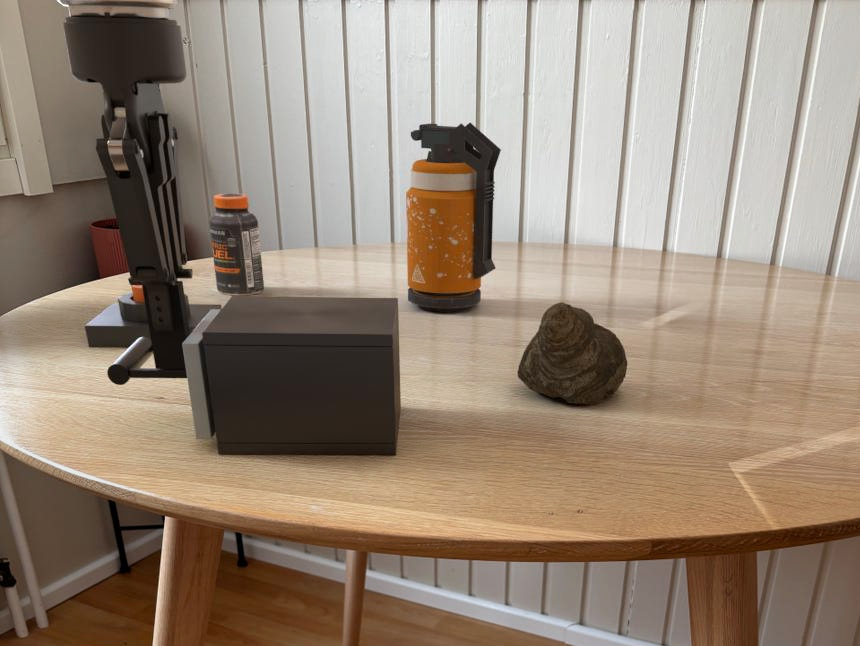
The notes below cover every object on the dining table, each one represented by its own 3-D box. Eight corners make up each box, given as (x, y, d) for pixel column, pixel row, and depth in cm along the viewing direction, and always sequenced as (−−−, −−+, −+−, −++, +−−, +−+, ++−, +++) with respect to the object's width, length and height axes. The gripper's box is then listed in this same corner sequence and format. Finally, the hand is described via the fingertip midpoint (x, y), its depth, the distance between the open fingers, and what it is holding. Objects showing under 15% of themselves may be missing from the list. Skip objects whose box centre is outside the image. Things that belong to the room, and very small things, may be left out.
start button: (129, 305, 98) (126, 288, 97) (139, 296, 101) (136, 279, 100) (168, 306, 98) (165, 288, 97) (177, 297, 102) (174, 280, 101)
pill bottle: (207, 291, 120) (194, 194, 114) (242, 284, 124) (231, 190, 118) (240, 298, 117) (228, 199, 111) (274, 290, 121) (265, 194, 115)
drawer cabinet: (218, 454, 73) (201, 332, 68) (244, 405, 83) (231, 295, 78) (396, 455, 73) (392, 334, 68) (400, 406, 83) (398, 297, 78)
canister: (429, 294, 121) (428, 117, 110) (507, 304, 117) (514, 122, 106) (394, 308, 114) (389, 121, 104) (475, 319, 110) (479, 127, 100)
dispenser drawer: (113, 439, 72) (94, 342, 69) (149, 396, 81) (134, 308, 77) (358, 440, 73) (354, 345, 69) (367, 397, 82) (363, 310, 78)
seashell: (472, 323, 84) (538, 347, 77) (563, 239, 86) (636, 255, 79) (524, 415, 92) (588, 445, 85) (606, 336, 94) (676, 359, 86)
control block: (88, 347, 97) (80, 307, 95) (116, 323, 106) (109, 286, 104) (205, 348, 98) (200, 309, 96) (223, 324, 106) (219, 287, 104)
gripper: (153, 12, 57) (206, 393, 70) (198, 17, 68) (237, 346, 81) (27, 9, 57) (103, 393, 69) (93, 15, 68) (148, 345, 80)
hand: (175, 367), depth 75 cm, fingers closed
